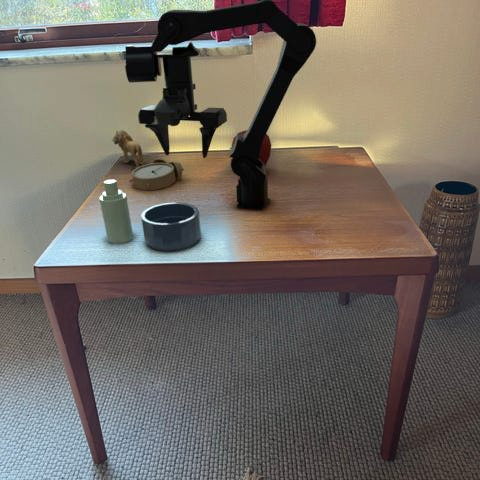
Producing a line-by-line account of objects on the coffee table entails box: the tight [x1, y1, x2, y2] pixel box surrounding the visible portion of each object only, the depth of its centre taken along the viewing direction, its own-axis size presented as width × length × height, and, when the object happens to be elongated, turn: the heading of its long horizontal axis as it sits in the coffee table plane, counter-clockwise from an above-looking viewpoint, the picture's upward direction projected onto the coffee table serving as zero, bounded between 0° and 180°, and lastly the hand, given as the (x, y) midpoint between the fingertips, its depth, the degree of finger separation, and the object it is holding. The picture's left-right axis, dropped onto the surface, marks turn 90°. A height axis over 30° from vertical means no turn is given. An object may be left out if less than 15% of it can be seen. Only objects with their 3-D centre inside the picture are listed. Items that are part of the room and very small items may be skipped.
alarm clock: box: [128, 158, 185, 191], centre depth 137 cm, size 11×5×15 cm
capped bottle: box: [98, 179, 134, 245], centre depth 105 cm, size 5×5×12 cm
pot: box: [140, 202, 202, 252], centre depth 105 cm, size 12×12×6 cm
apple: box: [231, 129, 272, 167], centre depth 139 cm, size 11×11×12 cm
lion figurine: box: [111, 129, 147, 169], centre depth 150 cm, size 15×5×9 cm, turn 43°
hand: (186, 156), depth 115 cm, fingers open, 9 cm apart
